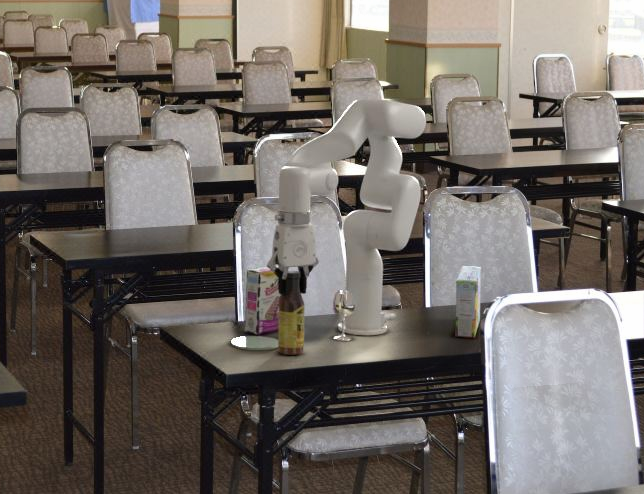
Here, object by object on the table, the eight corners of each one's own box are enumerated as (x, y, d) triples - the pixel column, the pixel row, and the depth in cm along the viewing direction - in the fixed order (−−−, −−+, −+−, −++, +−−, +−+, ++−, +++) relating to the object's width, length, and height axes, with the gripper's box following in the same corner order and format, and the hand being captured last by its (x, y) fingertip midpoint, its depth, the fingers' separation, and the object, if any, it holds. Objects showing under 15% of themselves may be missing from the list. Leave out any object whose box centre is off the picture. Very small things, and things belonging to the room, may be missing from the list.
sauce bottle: (302, 356, 295) (303, 275, 292) (276, 355, 296) (277, 273, 294) (305, 350, 301) (306, 270, 299) (279, 348, 302) (281, 268, 300)
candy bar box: (258, 335, 315) (259, 272, 313) (244, 332, 319) (245, 269, 317) (287, 329, 323) (288, 267, 321) (272, 325, 327) (274, 264, 325)
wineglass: (357, 337, 315) (358, 291, 314) (350, 342, 310) (351, 295, 309) (335, 334, 318) (337, 289, 316) (328, 339, 312) (329, 293, 311)
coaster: (263, 336, 315) (263, 334, 315) (289, 346, 304) (289, 344, 304) (222, 341, 309) (222, 339, 309) (248, 352, 298) (248, 349, 298)
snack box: (459, 319, 338) (461, 265, 336) (480, 321, 336) (482, 266, 334) (453, 337, 317) (455, 279, 315) (475, 338, 316) (478, 280, 314)
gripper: (273, 222, 287) (271, 299, 289) (332, 218, 296) (330, 293, 298) (255, 218, 294) (254, 294, 296) (314, 214, 302) (312, 287, 304)
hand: (292, 292), depth 297 cm, fingers closed on sauce bottle, 4 cm apart
